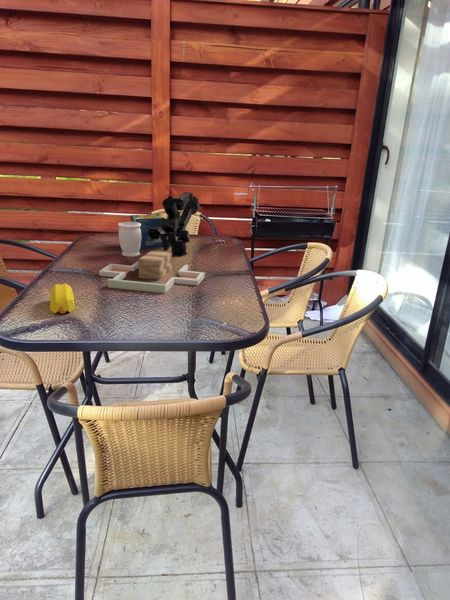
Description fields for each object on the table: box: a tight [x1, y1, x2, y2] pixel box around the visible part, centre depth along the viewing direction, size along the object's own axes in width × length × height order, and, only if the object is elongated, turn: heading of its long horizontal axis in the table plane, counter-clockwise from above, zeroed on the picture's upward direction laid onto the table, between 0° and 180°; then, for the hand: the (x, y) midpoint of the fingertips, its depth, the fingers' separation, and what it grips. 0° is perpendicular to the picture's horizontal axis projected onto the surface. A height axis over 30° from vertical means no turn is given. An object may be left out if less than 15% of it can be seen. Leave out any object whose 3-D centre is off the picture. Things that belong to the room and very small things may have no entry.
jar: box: [117, 221, 141, 258], centre depth 213 cm, size 11×10×15 cm
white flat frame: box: [98, 260, 206, 294], centre depth 184 cm, size 32×42×3 cm
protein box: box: [130, 213, 166, 250], centre depth 229 cm, size 10×15×16 cm
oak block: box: [137, 249, 173, 281], centre depth 189 cm, size 15×9×8 cm, turn 167°
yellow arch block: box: [49, 283, 76, 315], centre depth 152 cm, size 18×7×8 cm
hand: (164, 250), depth 198 cm, fingers closed
